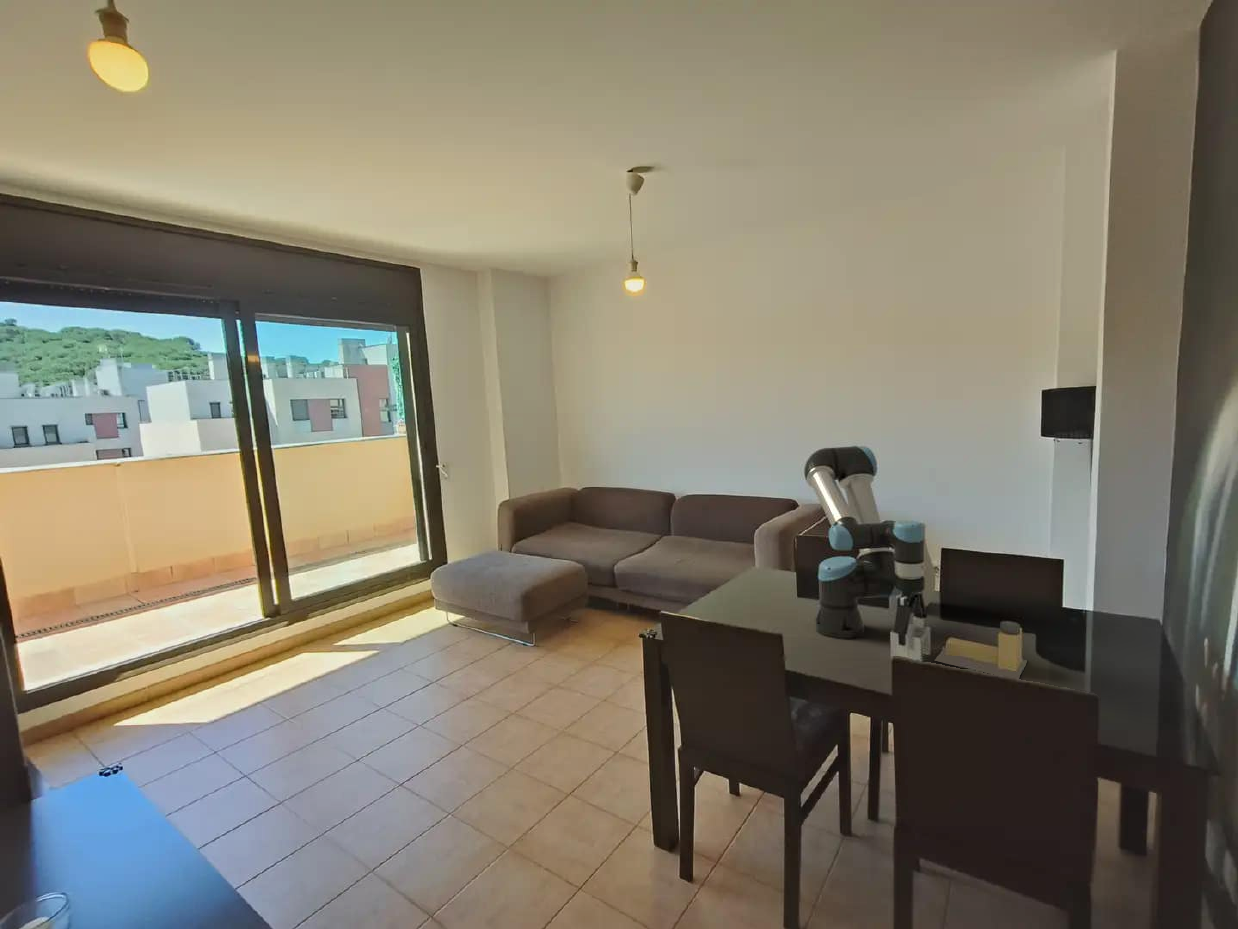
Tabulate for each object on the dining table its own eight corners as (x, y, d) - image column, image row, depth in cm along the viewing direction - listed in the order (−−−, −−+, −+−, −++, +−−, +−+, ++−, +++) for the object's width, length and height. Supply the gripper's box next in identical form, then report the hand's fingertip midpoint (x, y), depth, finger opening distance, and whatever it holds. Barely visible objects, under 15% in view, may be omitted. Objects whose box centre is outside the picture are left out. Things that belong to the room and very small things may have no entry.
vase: (943, 607, 200) (942, 523, 197) (922, 618, 192) (921, 530, 189) (905, 597, 211) (903, 518, 208) (883, 607, 204) (882, 524, 201)
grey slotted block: (890, 658, 166) (890, 631, 165) (901, 647, 173) (900, 621, 172) (920, 665, 161) (920, 638, 160) (930, 654, 167) (930, 627, 166)
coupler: (944, 658, 163) (943, 617, 162) (952, 648, 169) (951, 608, 167) (1016, 675, 151) (1017, 631, 150) (1022, 663, 157) (1022, 621, 156)
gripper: (909, 589, 152) (911, 666, 154) (936, 566, 170) (938, 635, 172) (879, 584, 158) (882, 659, 159) (909, 563, 175) (911, 630, 177)
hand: (911, 647), depth 166 cm, fingers open, 13 cm apart
